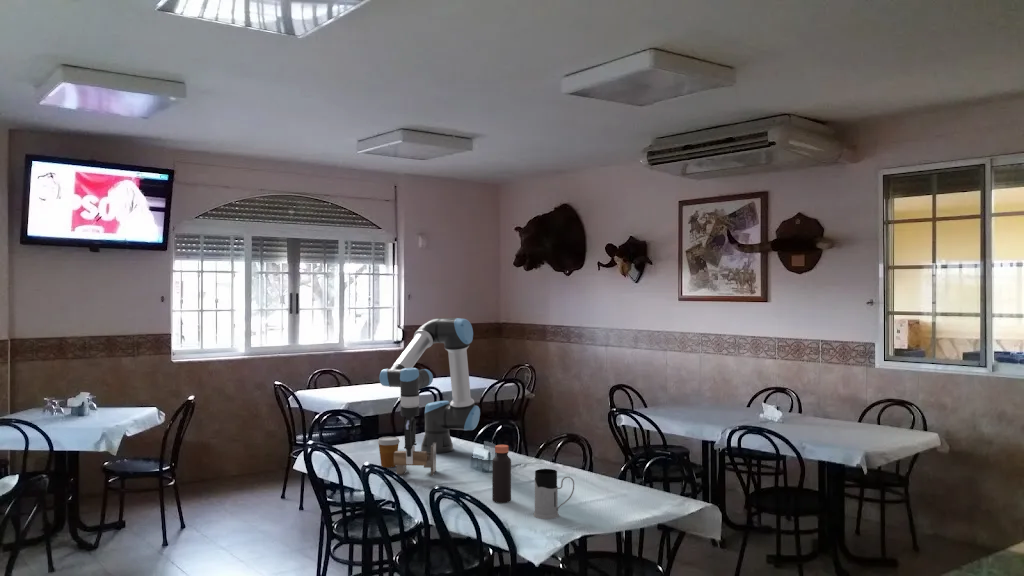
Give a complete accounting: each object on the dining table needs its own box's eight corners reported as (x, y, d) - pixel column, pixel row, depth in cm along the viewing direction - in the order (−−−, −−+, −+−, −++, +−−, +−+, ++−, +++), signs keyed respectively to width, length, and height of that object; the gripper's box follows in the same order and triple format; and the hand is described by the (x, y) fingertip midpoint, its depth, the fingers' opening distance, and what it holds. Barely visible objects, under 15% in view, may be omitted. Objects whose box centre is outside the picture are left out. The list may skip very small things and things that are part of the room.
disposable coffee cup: (373, 467, 338) (373, 439, 338) (385, 462, 347) (385, 435, 347) (392, 469, 335) (392, 441, 335) (403, 464, 344) (403, 437, 344)
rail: (395, 463, 323) (395, 451, 323) (426, 463, 322) (426, 451, 322) (393, 465, 320) (393, 453, 320) (425, 465, 319) (425, 453, 319)
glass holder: (536, 510, 273) (537, 467, 273) (576, 514, 268) (576, 470, 268) (530, 517, 264) (530, 473, 264) (571, 521, 260) (571, 476, 260)
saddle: (399, 470, 332) (399, 455, 332) (406, 470, 332) (406, 455, 332) (396, 474, 325) (396, 459, 325) (403, 474, 325) (403, 459, 325)
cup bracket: (426, 470, 332) (426, 442, 332) (435, 470, 332) (436, 442, 332) (423, 475, 324) (423, 446, 324) (433, 475, 324) (433, 446, 324)
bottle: (492, 498, 289) (493, 444, 289) (511, 498, 289) (511, 444, 289) (491, 503, 282) (491, 447, 282) (510, 503, 282) (510, 447, 282)
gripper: (404, 402, 329) (405, 457, 329) (396, 409, 312) (397, 467, 313) (422, 402, 329) (422, 458, 329) (415, 409, 312) (415, 468, 313)
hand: (410, 462), depth 321 cm, fingers closed on rail, 3 cm apart
